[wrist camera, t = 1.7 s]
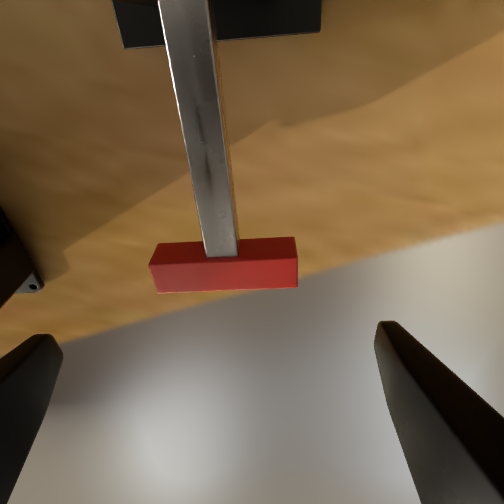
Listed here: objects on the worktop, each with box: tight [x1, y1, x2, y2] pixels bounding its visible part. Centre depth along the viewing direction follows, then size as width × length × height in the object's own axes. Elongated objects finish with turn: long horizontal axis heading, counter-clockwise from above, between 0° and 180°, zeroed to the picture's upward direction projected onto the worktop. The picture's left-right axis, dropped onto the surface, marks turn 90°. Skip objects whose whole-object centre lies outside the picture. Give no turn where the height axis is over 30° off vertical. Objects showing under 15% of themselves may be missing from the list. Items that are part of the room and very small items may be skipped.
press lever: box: [149, 0, 298, 293], centre depth 9 cm, size 12×5×2 cm, turn 4°
